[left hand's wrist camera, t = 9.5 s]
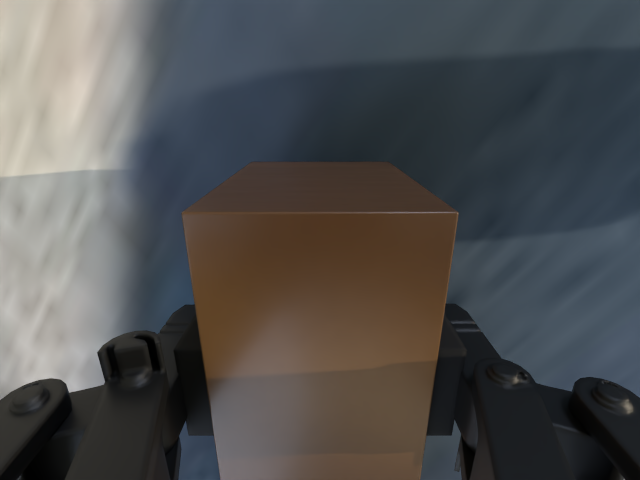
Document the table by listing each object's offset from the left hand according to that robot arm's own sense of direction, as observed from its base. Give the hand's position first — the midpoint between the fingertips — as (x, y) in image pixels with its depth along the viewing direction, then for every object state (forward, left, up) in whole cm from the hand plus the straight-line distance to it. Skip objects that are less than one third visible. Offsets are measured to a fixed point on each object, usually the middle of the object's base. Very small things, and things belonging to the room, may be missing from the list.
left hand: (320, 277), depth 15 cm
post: (+27, +19, -1) cm, 33 cm away
